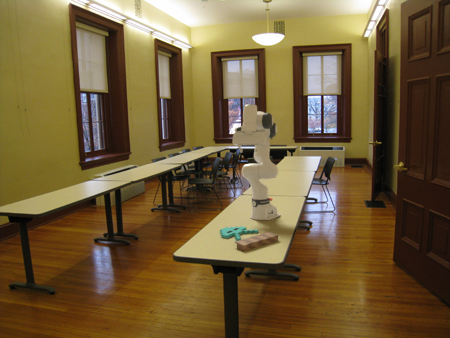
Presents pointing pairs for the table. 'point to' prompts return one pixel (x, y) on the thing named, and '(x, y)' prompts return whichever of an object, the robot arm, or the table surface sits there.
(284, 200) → the table surface
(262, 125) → the robot arm
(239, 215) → the table surface
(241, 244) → the laid plank
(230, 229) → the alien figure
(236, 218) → the table surface
